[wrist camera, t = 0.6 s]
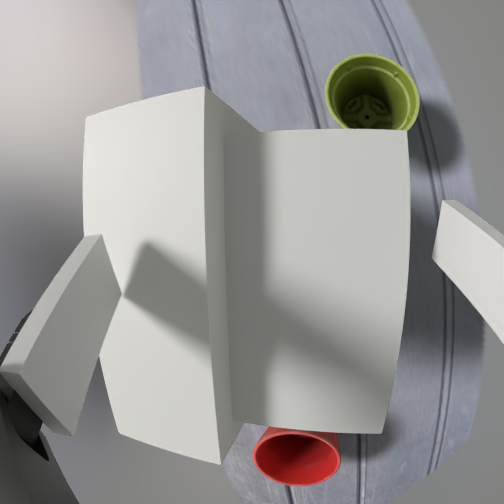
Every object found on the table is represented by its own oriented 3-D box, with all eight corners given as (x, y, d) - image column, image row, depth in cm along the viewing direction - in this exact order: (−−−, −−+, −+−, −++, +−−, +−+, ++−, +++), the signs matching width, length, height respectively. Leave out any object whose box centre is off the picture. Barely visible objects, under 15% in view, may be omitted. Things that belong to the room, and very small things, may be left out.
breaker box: (254, 173, 38) (86, 117, 12) (362, 171, 35) (411, 75, 8) (256, 300, 41) (118, 433, 14) (360, 304, 37) (376, 481, 10)
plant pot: (418, 120, 32) (437, 97, 24) (371, 172, 34) (380, 161, 26) (361, 71, 33) (363, 38, 25) (313, 120, 36) (304, 96, 27)
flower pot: (336, 447, 40) (330, 492, 31) (267, 437, 43) (249, 478, 34) (351, 394, 39) (349, 438, 29) (273, 383, 42) (255, 424, 32)
